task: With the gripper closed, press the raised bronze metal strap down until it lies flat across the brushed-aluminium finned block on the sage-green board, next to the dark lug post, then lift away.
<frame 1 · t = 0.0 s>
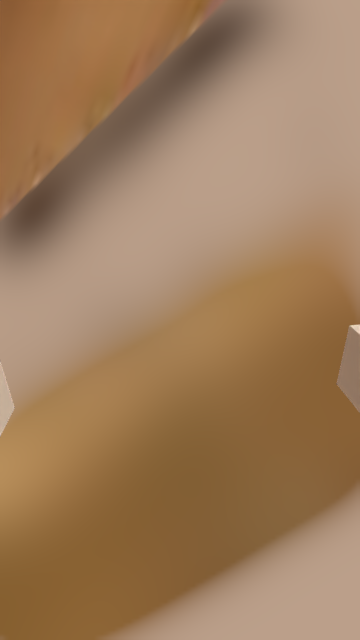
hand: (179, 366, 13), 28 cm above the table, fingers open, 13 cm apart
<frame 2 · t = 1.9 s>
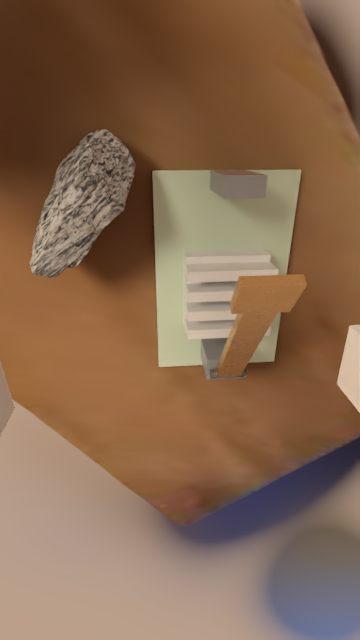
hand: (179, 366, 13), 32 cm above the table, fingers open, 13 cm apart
heatsink board: (220, 277, 45), on the table
strap: (243, 339, 35), point 13 cm above the table, hinge at -35.0°
rock: (84, 198, 40), on the table
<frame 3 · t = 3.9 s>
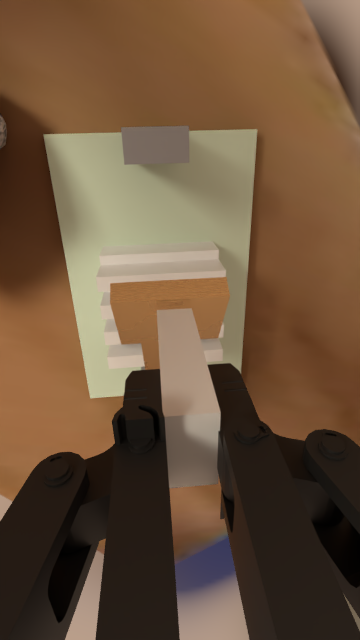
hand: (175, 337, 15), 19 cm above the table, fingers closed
heatsink board: (160, 281, 34), on the table
strap: (169, 374, 24), point 13 cm above the table, hinge at -34.2°, touching gripper
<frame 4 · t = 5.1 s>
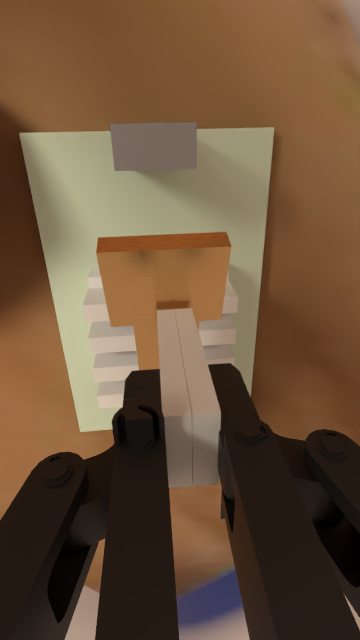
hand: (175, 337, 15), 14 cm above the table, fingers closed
heatsink board: (159, 302, 30), on the table
strap: (167, 388, 21), point 11 cm above the table, hinge at -19.9°, touching gripper
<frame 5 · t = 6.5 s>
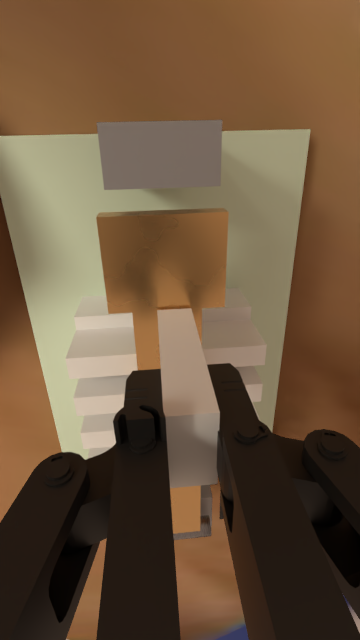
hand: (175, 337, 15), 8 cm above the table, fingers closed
heatsink board: (163, 339, 25), on the table
strap: (171, 414, 18), point 8 cm above the table, hinge at -0.6°, touching gripper
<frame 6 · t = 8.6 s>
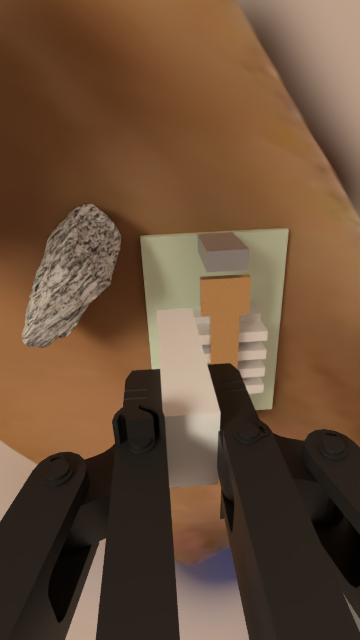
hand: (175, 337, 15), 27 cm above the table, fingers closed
heatsink board: (213, 330, 46), on the table
strap: (223, 363, 39), point 8 cm above the table, hinge at -0.6°
rock: (75, 263, 41), on the table
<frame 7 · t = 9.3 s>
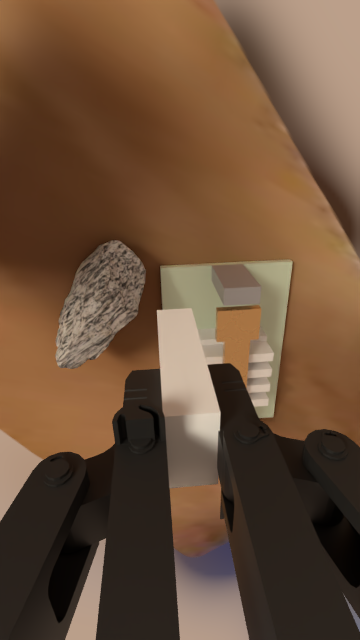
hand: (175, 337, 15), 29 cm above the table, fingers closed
heatsink board: (222, 348, 50), on the table
strap: (234, 381, 44), point 8 cm above the table, hinge at -0.6°
rock: (100, 290, 45), on the table
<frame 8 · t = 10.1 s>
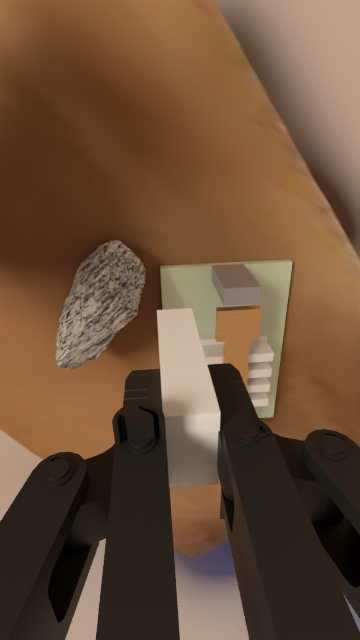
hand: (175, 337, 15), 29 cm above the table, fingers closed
heatsink board: (222, 348, 51), on the table
strap: (234, 381, 44), point 8 cm above the table, hinge at -0.6°
rock: (100, 290, 45), on the table
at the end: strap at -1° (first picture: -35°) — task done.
